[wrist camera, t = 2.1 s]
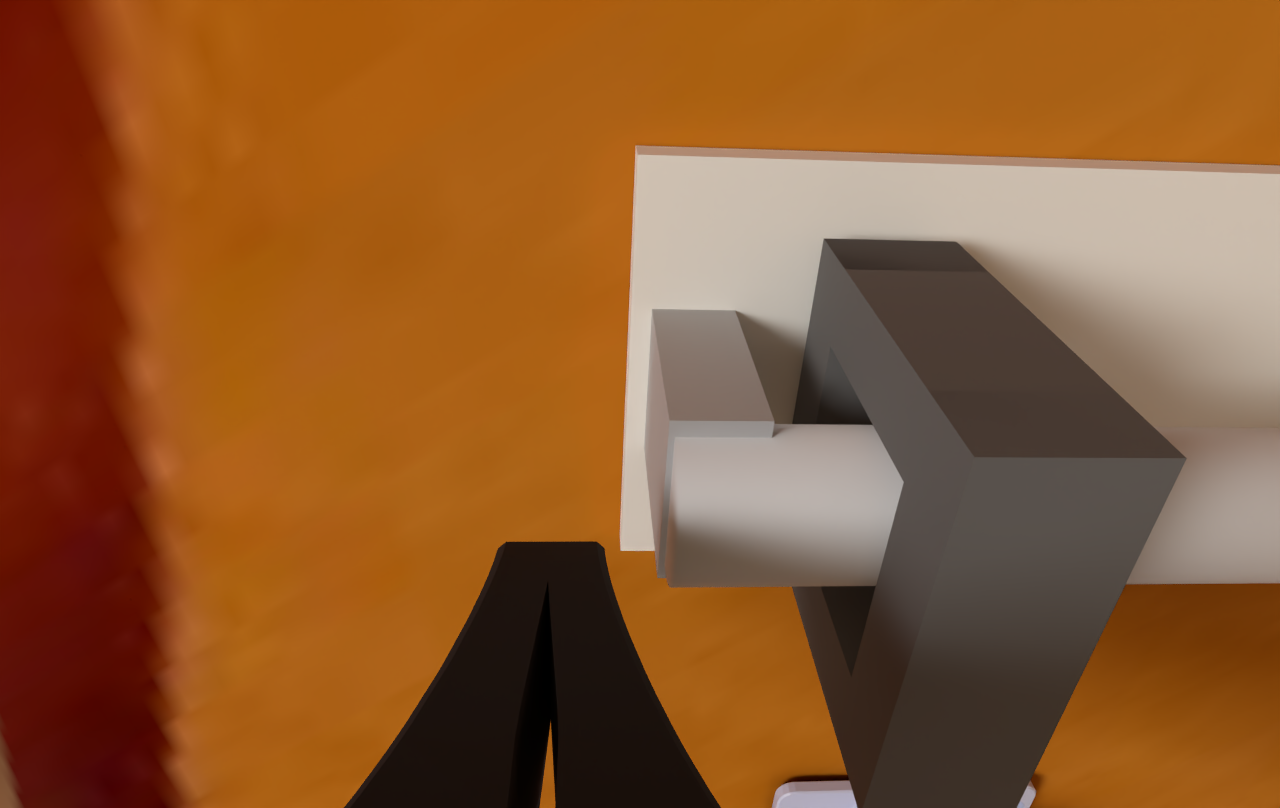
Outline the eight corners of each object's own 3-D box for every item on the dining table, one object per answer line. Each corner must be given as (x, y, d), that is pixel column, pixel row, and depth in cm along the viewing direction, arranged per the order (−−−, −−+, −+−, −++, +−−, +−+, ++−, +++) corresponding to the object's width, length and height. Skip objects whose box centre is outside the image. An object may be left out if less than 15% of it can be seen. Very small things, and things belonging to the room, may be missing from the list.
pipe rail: (1752, 180, 16) (2285, 310, 11) (1484, 531, 21) (1770, 735, 16) (635, 145, 15) (661, 279, 9) (620, 533, 19) (631, 759, 14)
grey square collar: (956, 241, 15) (1187, 458, 9) (881, 527, 18) (1014, 812, 12) (823, 238, 14) (974, 457, 9) (774, 527, 18) (860, 816, 12)
